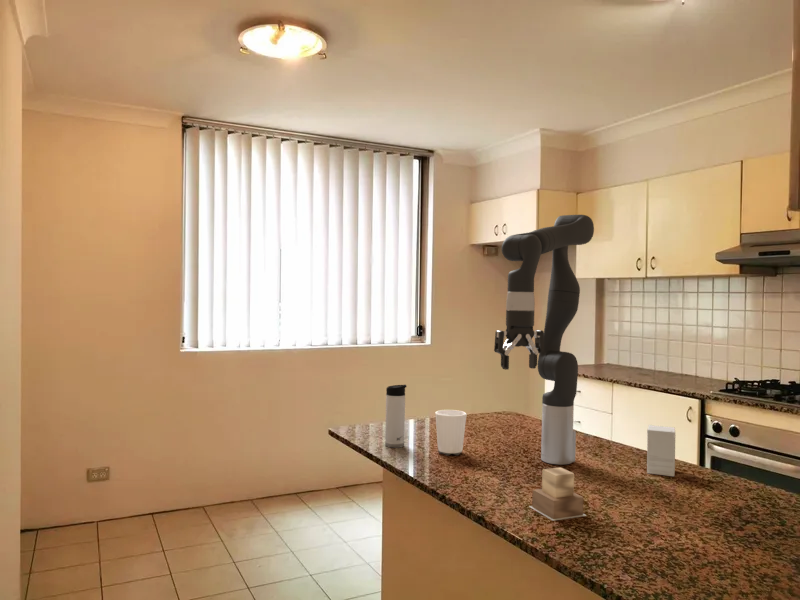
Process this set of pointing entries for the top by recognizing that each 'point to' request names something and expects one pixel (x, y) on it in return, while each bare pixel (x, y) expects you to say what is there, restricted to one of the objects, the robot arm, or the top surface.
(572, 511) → the walnut base
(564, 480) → the maple cube
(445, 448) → the cup
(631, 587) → the top surface
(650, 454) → the supplement box
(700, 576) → the top surface
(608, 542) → the top surface
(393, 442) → the travel mug
